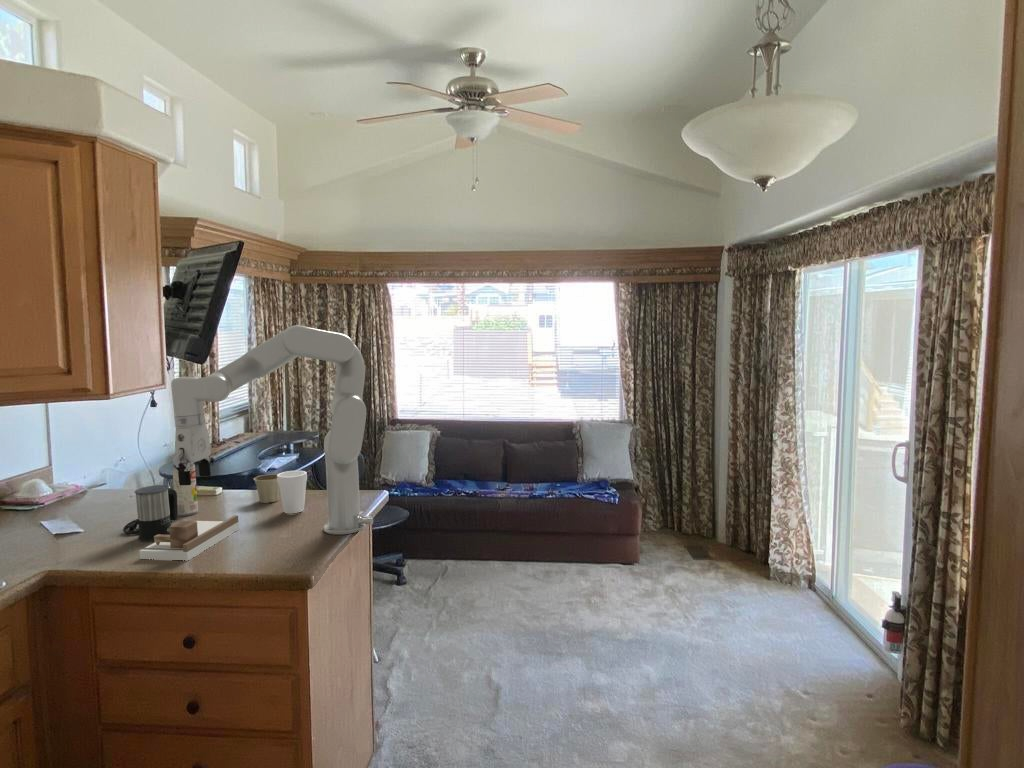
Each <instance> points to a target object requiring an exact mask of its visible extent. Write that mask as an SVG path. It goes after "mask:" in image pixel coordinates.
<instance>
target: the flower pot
mask: <svg viewBox="0 0 1024 768" xmlns="http://www.w3.org/2000/svg"><path fill="white" fill-rule="evenodd" d="M278 474H279V473H277V474H272V473H271V474H270V473H269V474H264V475H263V474H262V475H258V476H256V477H253V481H254V483H255V485H256V490H257V493H258V494H257V495H258V499H259V502H260V503H262V504H269V503H275V502H278V501H279V494H280V490H279V485H278V482H277V475H278Z"/></svg>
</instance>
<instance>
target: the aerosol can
mask: <svg viewBox="0 0 1024 768" xmlns="http://www.w3.org/2000/svg"><path fill="white" fill-rule="evenodd" d="M183 465H184V466H185V465H186V464H183ZM188 471H190V475H191V485H179V477H178V472H177V470H176V468H175V466H174V464H172V482H173V483H172V484H173V489H174V490H175V491H176V493H177V513H178V514H177V515H178V517H190V516H194V515H196V513H197V514H198V513H199V505H198V491H197V489H198V488H197V478H196V476H197V475H196V465H195V463H192V462H191V463H190V466H189V469H188ZM193 514H194V515H193ZM189 515H190V516H189Z"/></svg>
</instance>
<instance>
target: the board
mask: <svg viewBox="0 0 1024 768" xmlns="http://www.w3.org/2000/svg"><path fill="white" fill-rule="evenodd" d="M195 521H196V522H197V529H198V536H197V537H195V538H194V539H192V540H190V541H188V542H187V543H185V544H183V548H171V545H170V542H160V544H158V545H157V544H156V542H153V543H151V544H149V545H147V546H146V547H144V548H142V549H139V560H140V559H149V560H148V561H172V560H183V562H189V561H191V560H192V559H194V558H195V557H197V556H199V555H201V554H202V553H204V550H205V551H207V550H208V549H210V548H211V547H213V546H214V544H215V545H216V544H218V543H220V542H221V541H223V540H224V539H226V538H228V537H229V536H231V535H233V534H234V533H236V532H237V531H239V530H240V523H239V515H238V514H237V515H232V516H231V517H228V518H227V519H225V520H224V521H222V520H195ZM235 531H236V532H235ZM227 536H228V537H227ZM219 541H220V542H219ZM209 547H210V548H209ZM206 549H207V550H206ZM193 557H194V558H193ZM150 559H152V560H150ZM153 559H154V560H153ZM184 560H185V561H184ZM188 560H189V561H188Z"/></svg>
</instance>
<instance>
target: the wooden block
mask: <svg viewBox="0 0 1024 768" xmlns="http://www.w3.org/2000/svg"><path fill="white" fill-rule="evenodd" d="M196 521H197V520H194V521H190V520H189V521H188V520H187V521H186V520H183V521H182V520H179V521H178V522H175V523H174V524H171V526H170V527H169V533H170V535H159V534H158V535H156V536H154V541H153V543H155V542H156V544H157V545H158V544H160V542H170V545H171V548H183V544H185V543H187V542H188V541H190V540H192V539H194V538H195V537H197V536H198V529H197V522H196Z"/></svg>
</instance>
